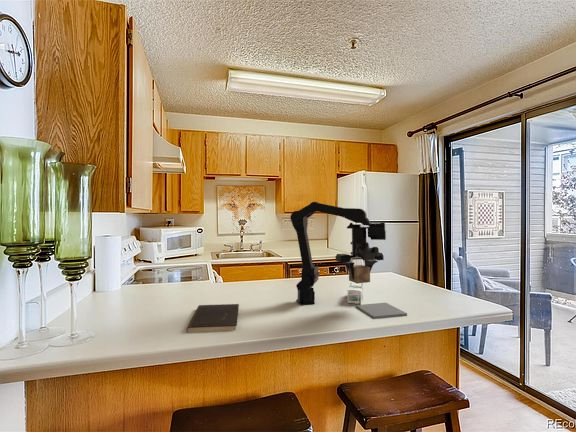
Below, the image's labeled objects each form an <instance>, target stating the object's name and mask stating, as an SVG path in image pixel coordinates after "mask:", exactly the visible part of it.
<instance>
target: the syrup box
mask: <svg viewBox="0 0 576 432" xmlns="http://www.w3.org/2000/svg"><path fill="white" fill-rule="evenodd" d="M363 298H364V283H358V284H357V283H354V282H350V284H349V286H348V288H347V303H348V304H355V305H362V301H363Z"/></svg>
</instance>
